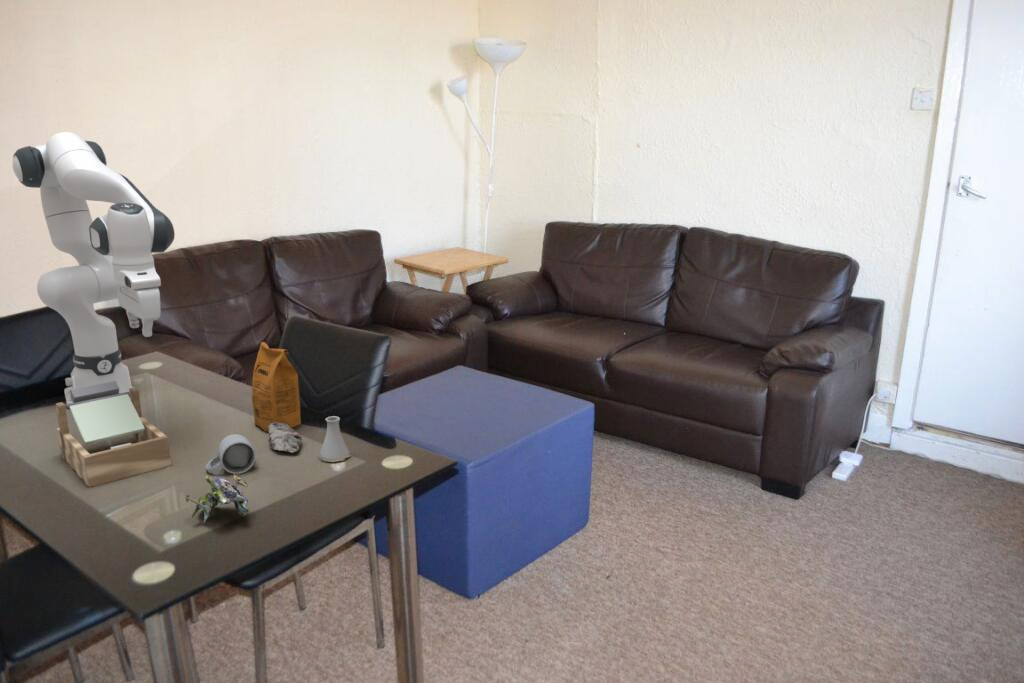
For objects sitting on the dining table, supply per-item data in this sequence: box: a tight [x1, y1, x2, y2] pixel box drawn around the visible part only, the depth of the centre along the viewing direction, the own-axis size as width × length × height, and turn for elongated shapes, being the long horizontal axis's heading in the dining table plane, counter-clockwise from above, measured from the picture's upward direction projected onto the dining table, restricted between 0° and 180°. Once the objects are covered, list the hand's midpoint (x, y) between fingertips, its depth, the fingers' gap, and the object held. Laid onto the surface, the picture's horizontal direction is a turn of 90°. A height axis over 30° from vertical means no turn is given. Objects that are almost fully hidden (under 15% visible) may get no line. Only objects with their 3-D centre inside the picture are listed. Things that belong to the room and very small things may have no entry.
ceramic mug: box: [205, 433, 256, 475], centre depth 189 cm, size 11×8×8 cm
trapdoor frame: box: [55, 386, 172, 488], centre depth 192 cm, size 23×18×14 cm
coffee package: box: [251, 341, 302, 433], centre depth 213 cm, size 10×12×22 cm
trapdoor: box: [65, 381, 145, 446], centre depth 194 cm, size 16×14×3 cm
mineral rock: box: [267, 422, 303, 454], centre depth 203 cm, size 15×8×4 cm, turn 15°
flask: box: [318, 415, 350, 460], centre depth 195 cm, size 7×7×10 cm
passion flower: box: [184, 474, 249, 526], centre depth 165 cm, size 11×11×12 cm
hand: (141, 331), depth 194 cm, fingers open, 8 cm apart
